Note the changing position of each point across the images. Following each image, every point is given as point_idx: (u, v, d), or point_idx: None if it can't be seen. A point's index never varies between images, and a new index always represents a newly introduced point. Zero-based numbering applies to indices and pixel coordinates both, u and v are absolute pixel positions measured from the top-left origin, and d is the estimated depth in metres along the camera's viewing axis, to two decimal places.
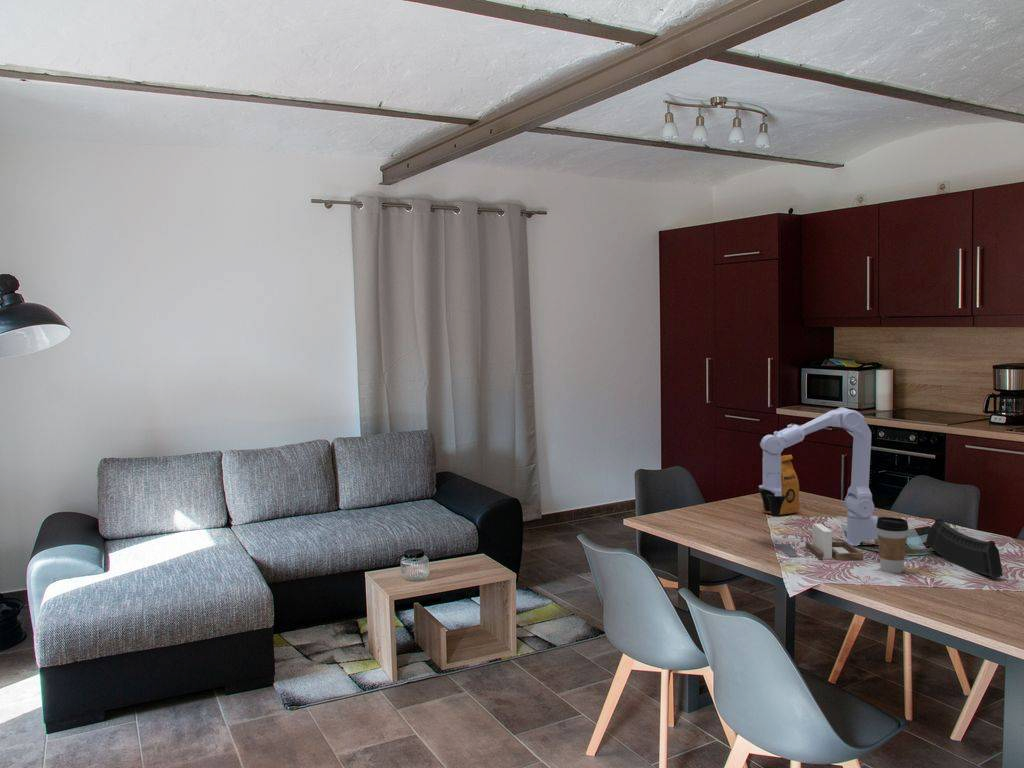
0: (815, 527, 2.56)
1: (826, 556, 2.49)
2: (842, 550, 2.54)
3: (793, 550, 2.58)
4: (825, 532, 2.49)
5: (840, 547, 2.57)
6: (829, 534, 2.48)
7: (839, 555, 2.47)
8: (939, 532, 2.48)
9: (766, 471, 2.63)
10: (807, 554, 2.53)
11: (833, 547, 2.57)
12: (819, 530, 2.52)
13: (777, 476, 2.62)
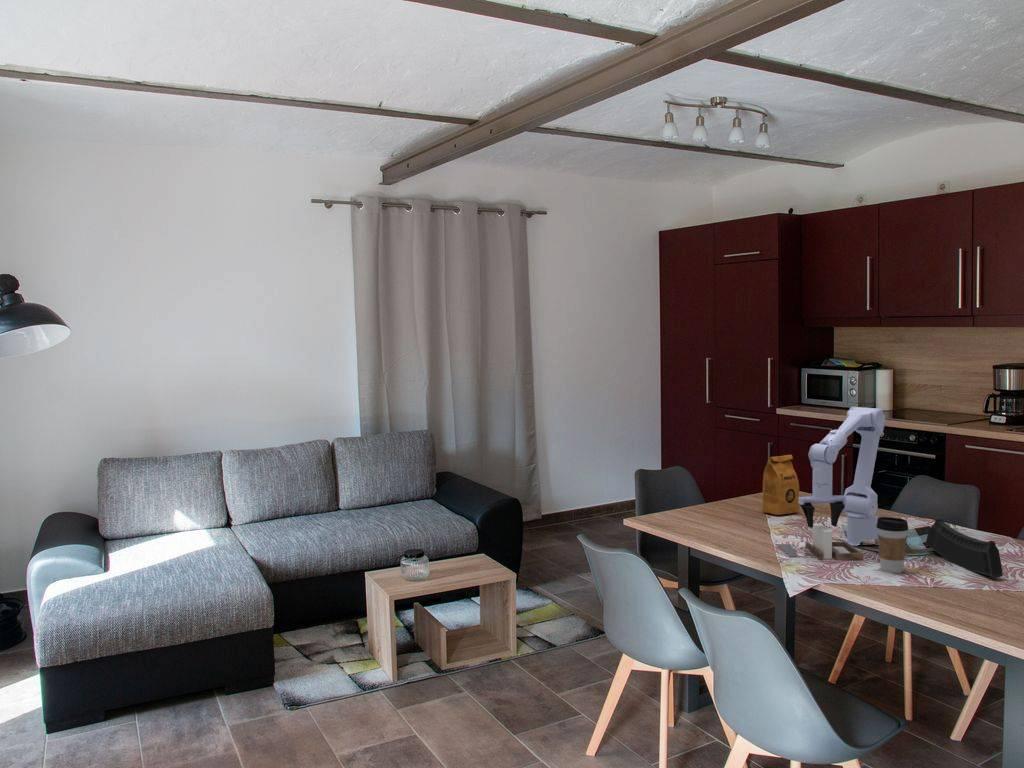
0: (815, 527, 2.56)
1: (826, 556, 2.49)
2: (842, 550, 2.54)
3: (793, 550, 2.58)
4: (825, 532, 2.49)
5: (841, 547, 2.57)
6: (829, 534, 2.48)
7: (839, 555, 2.47)
8: (939, 532, 2.48)
9: (823, 482, 2.50)
10: (807, 554, 2.53)
11: (834, 547, 2.57)
12: (819, 530, 2.52)
13: (815, 487, 2.51)
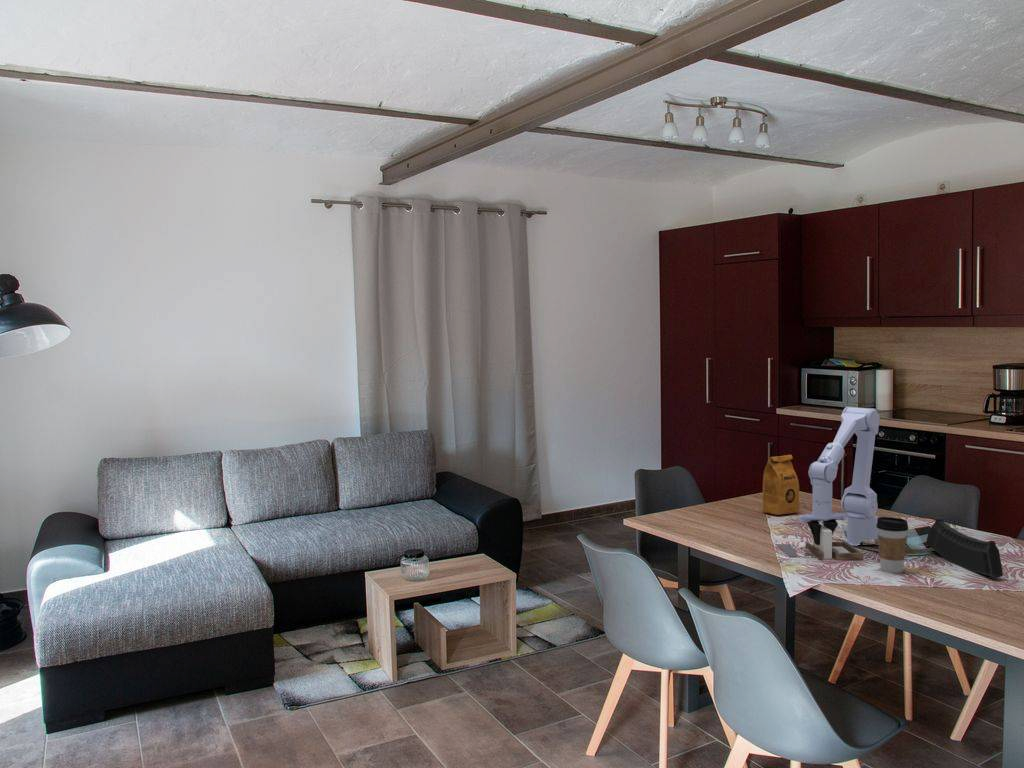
0: None
1: (826, 556, 2.49)
2: (842, 549, 2.54)
3: (793, 550, 2.58)
4: (825, 532, 2.49)
5: (840, 547, 2.57)
6: (829, 533, 2.48)
7: (839, 555, 2.47)
8: (939, 532, 2.48)
9: (823, 500, 2.50)
10: (807, 554, 2.53)
11: (833, 547, 2.57)
12: None
13: (815, 505, 2.52)
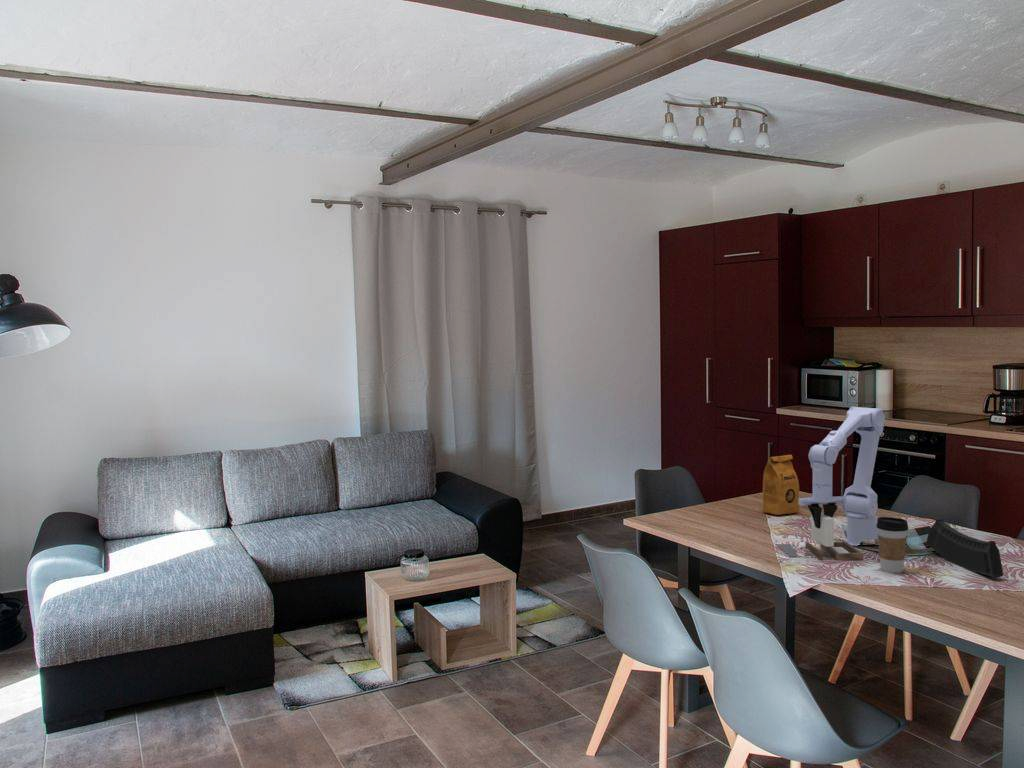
0: None
1: (828, 543, 2.49)
2: (842, 550, 2.54)
3: (793, 550, 2.58)
4: (827, 519, 2.48)
5: (840, 547, 2.57)
6: (831, 521, 2.48)
7: (839, 555, 2.47)
8: (939, 532, 2.48)
9: (823, 483, 2.50)
10: (807, 554, 2.53)
11: (833, 547, 2.57)
12: (820, 518, 2.52)
13: (815, 488, 2.51)
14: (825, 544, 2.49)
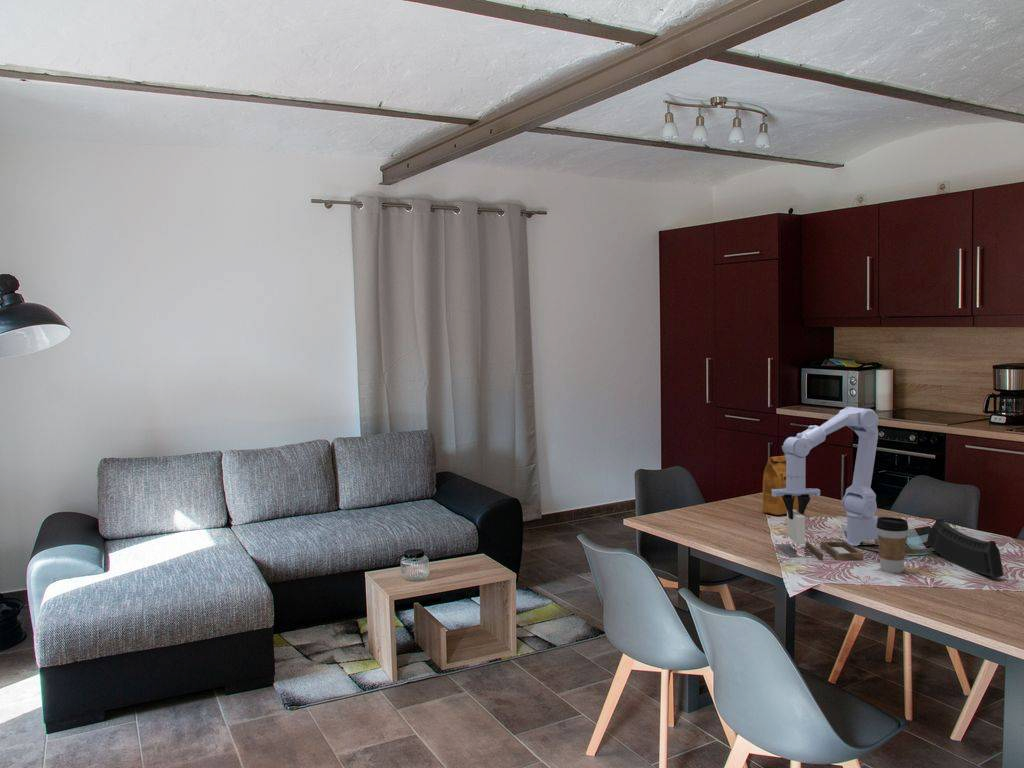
0: None
1: (799, 541, 2.52)
2: (842, 550, 2.54)
3: (793, 550, 2.58)
4: (798, 517, 2.52)
5: (840, 547, 2.57)
6: (802, 519, 2.52)
7: (839, 555, 2.47)
8: (939, 532, 2.48)
9: (793, 475, 2.54)
10: (807, 554, 2.53)
11: (833, 547, 2.57)
12: (793, 516, 2.56)
13: (788, 479, 2.55)
14: (796, 541, 2.53)
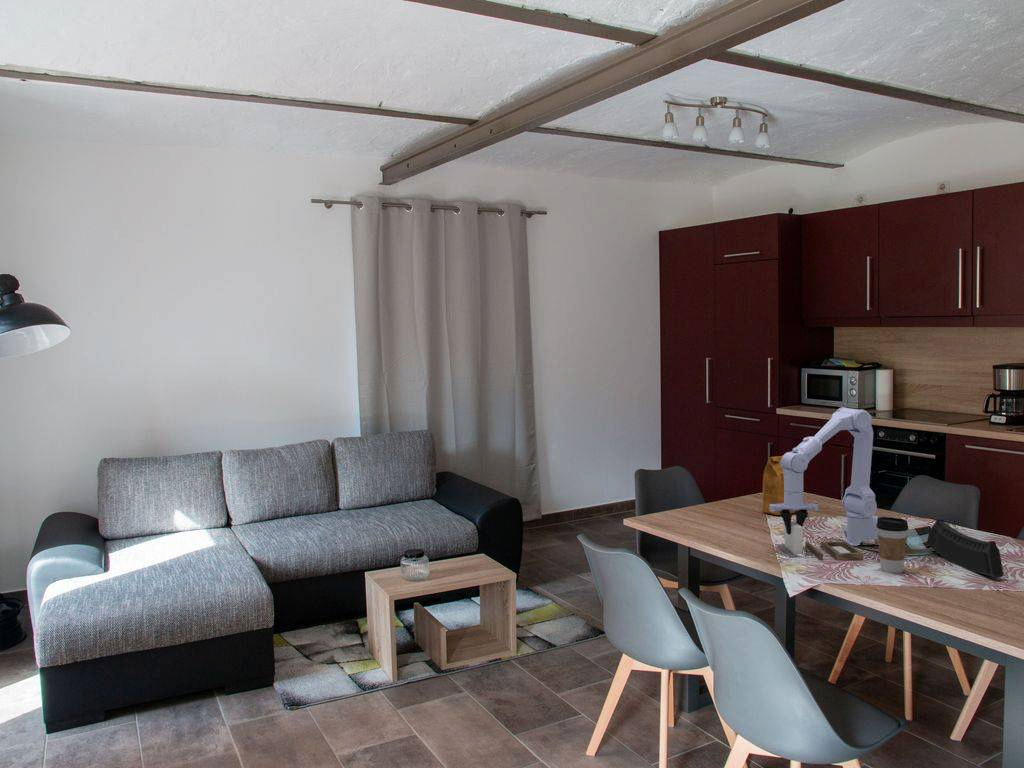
0: None
1: (797, 551, 2.53)
2: (842, 549, 2.54)
3: None
4: (796, 528, 2.53)
5: (839, 546, 2.57)
6: (799, 529, 2.53)
7: (839, 555, 2.47)
8: (939, 532, 2.48)
9: (791, 490, 2.54)
10: (807, 554, 2.53)
11: None
12: None
13: (786, 494, 2.56)
14: (794, 552, 2.54)
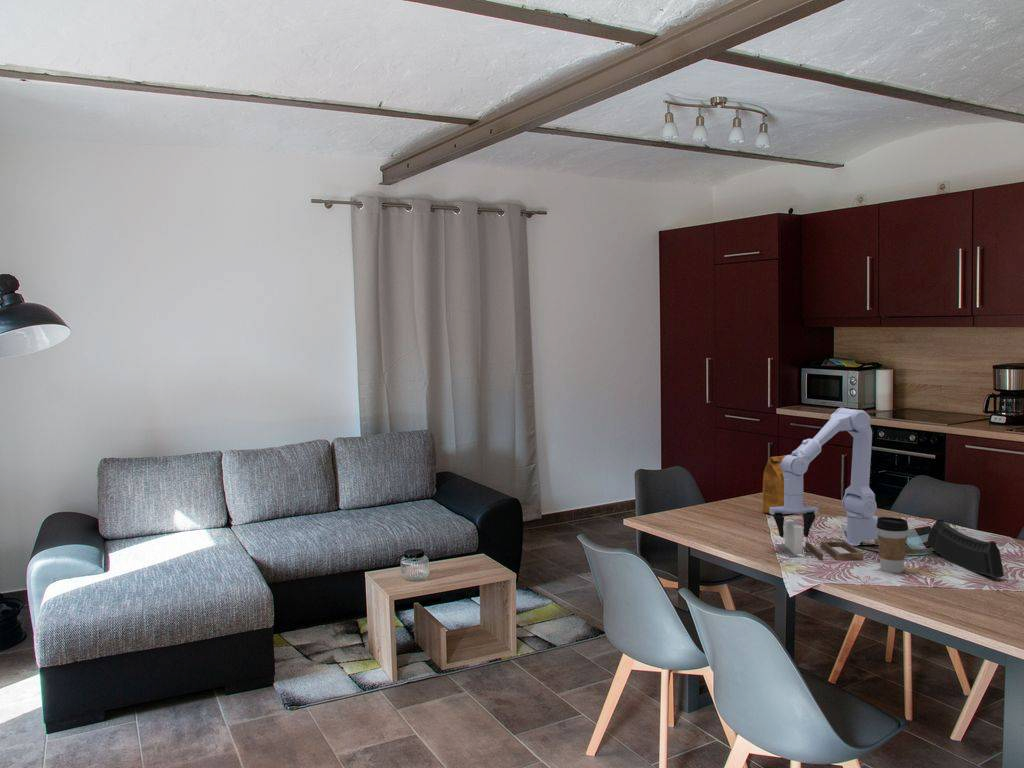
0: (787, 523, 2.60)
1: (797, 552, 2.53)
2: (842, 550, 2.54)
3: None
4: (796, 528, 2.53)
5: (839, 547, 2.57)
6: (799, 529, 2.53)
7: (839, 555, 2.47)
8: (940, 533, 2.48)
9: (791, 493, 2.55)
10: (807, 554, 2.53)
11: (832, 547, 2.57)
12: (790, 526, 2.57)
13: (786, 497, 2.56)
14: (794, 552, 2.54)
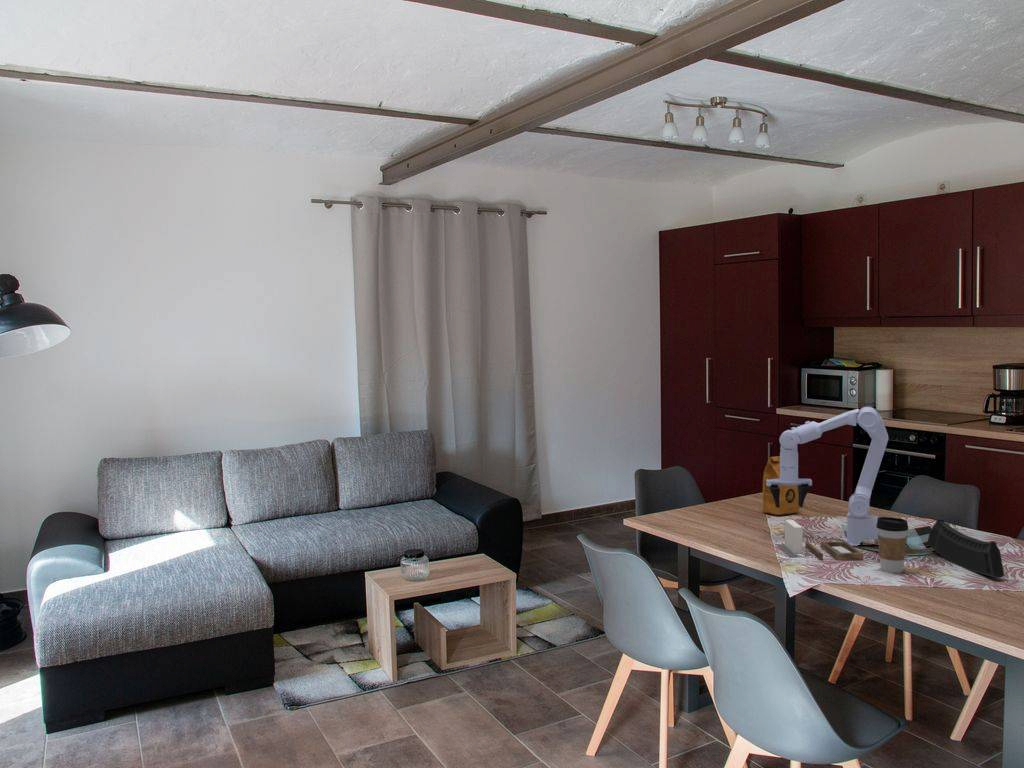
0: (787, 523, 2.60)
1: (797, 552, 2.53)
2: (843, 549, 2.54)
3: None
4: (796, 528, 2.53)
5: (839, 546, 2.57)
6: (799, 529, 2.53)
7: (839, 555, 2.47)
8: (940, 533, 2.48)
9: (781, 465, 2.72)
10: (807, 554, 2.53)
11: (833, 547, 2.57)
12: (790, 526, 2.57)
13: (782, 470, 2.71)
14: (794, 552, 2.54)
